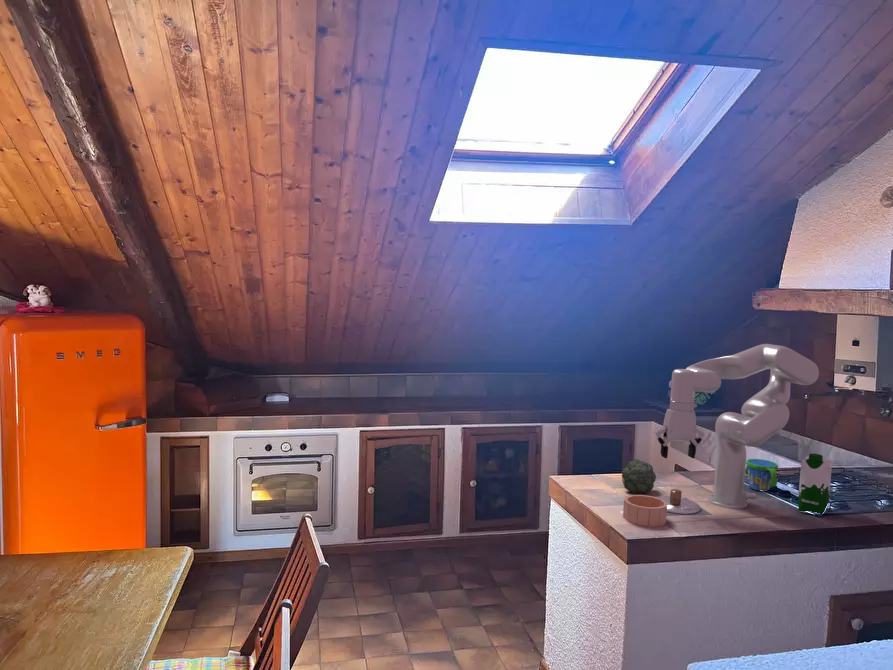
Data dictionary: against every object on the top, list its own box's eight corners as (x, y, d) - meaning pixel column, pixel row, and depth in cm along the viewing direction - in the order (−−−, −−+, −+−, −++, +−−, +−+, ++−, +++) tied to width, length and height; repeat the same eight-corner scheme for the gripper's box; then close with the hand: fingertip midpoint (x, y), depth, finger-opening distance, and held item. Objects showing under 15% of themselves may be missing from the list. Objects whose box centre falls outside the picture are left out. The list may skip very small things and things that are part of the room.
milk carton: (794, 512, 235) (799, 453, 233) (801, 505, 242) (806, 449, 240) (823, 518, 230) (829, 458, 228) (830, 512, 236) (835, 454, 235)
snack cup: (785, 496, 253) (787, 468, 252) (757, 495, 252) (759, 468, 251) (762, 483, 268) (764, 457, 267) (736, 482, 267) (737, 456, 266)
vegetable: (647, 478, 261) (668, 471, 248) (631, 505, 256) (652, 500, 242) (621, 458, 262) (640, 449, 248) (605, 485, 256) (624, 478, 243)
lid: (685, 498, 244) (686, 483, 244) (709, 514, 229) (710, 498, 228) (642, 498, 242) (643, 483, 241) (663, 514, 226) (664, 498, 226)
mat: (686, 498, 245) (686, 497, 245) (711, 515, 228) (711, 514, 228) (640, 499, 242) (640, 498, 242) (662, 516, 225) (663, 515, 225)
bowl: (654, 512, 229) (655, 494, 229) (673, 526, 216) (674, 508, 216) (616, 513, 227) (617, 495, 227) (633, 527, 214) (634, 508, 214)
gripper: (699, 404, 237) (696, 454, 239) (652, 404, 234) (648, 454, 236) (711, 409, 230) (707, 460, 231) (662, 408, 227) (658, 460, 229)
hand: (677, 457), depth 234 cm, fingers open, 9 cm apart
